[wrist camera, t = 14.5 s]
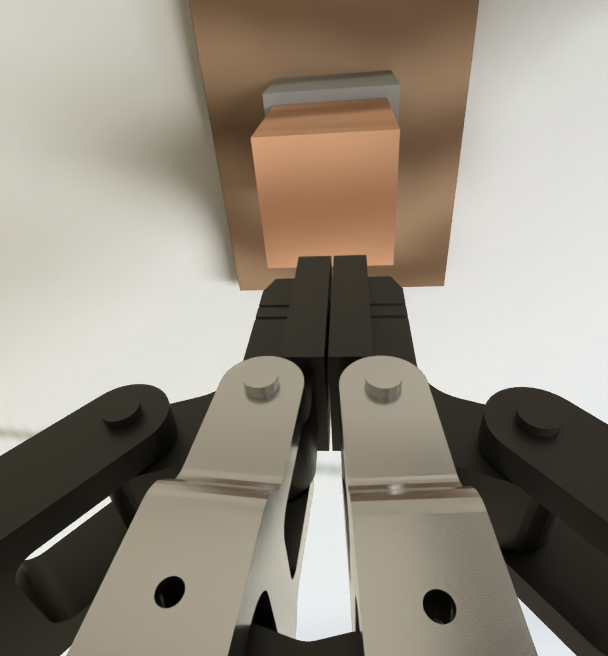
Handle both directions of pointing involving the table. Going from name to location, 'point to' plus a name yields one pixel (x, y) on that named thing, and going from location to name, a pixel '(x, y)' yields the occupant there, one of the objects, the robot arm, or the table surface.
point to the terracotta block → (328, 180)
